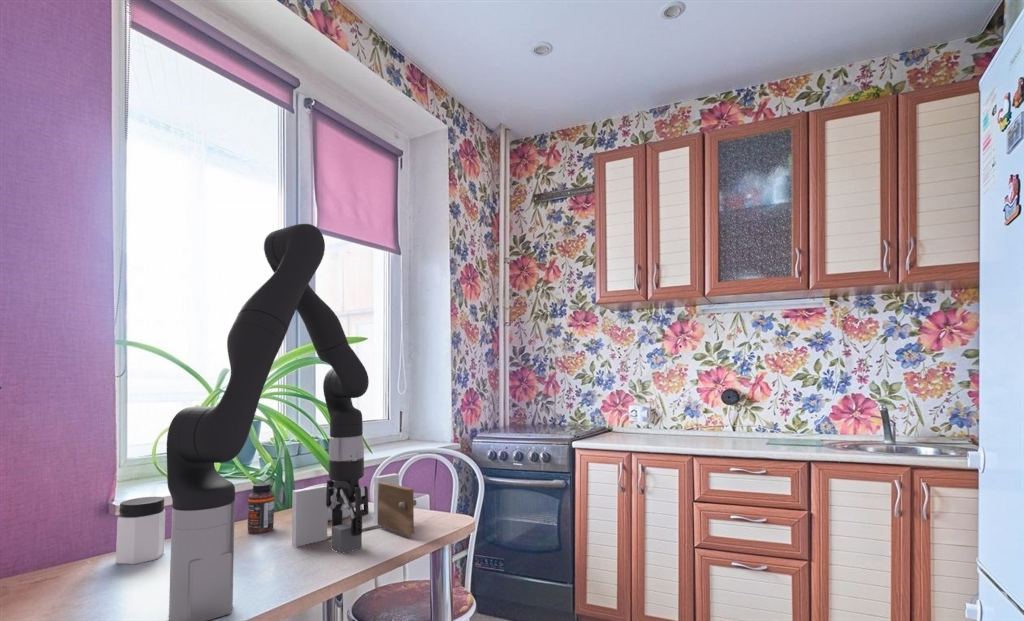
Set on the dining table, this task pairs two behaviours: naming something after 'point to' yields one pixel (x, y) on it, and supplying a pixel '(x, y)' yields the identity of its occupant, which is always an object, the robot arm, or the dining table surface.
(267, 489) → the supplement bottle
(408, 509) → the door
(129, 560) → the jar
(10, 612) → the dining table surface
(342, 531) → the block
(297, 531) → the wall frame
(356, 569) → the dining table surface
